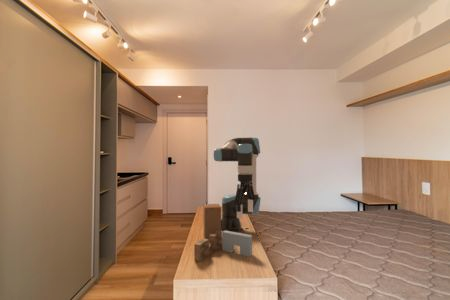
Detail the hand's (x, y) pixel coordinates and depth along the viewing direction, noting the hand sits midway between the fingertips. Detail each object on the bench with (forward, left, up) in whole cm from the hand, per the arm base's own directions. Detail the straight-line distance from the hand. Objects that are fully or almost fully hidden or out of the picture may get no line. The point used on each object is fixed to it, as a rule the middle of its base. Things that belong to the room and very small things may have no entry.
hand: (245, 214), depth 119 cm
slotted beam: (+6, -18, -21) cm, 28 cm away
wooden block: (-13, -28, -21) cm, 37 cm away
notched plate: (-1, -5, -21) cm, 21 cm away
